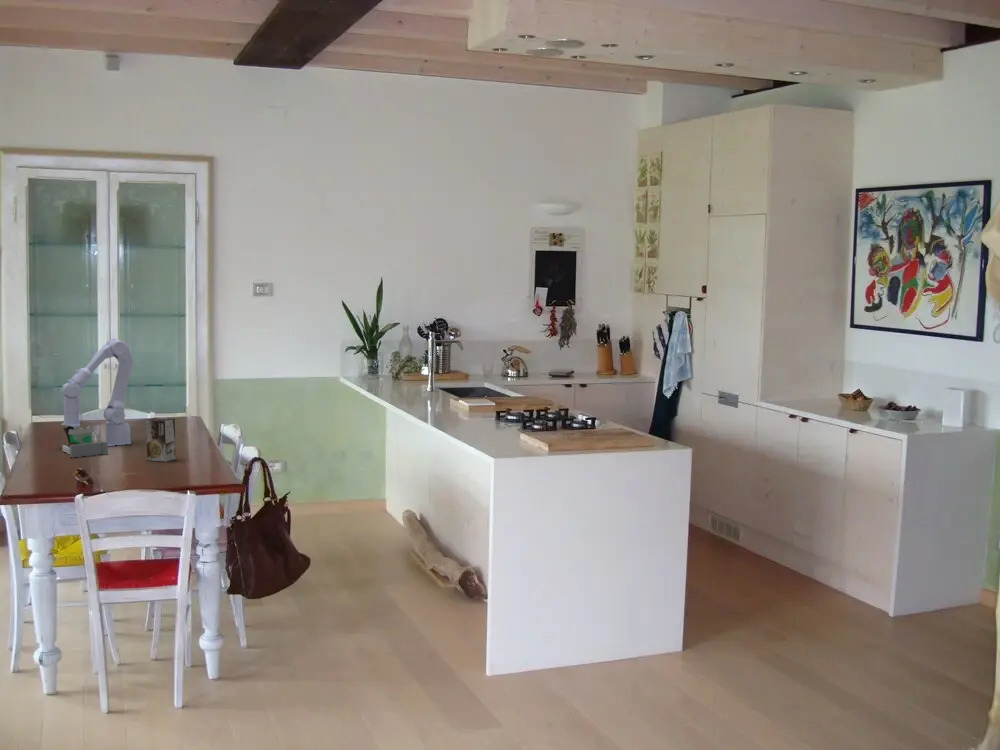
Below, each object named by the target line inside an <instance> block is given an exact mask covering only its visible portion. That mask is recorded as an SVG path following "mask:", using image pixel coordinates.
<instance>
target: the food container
mask: <svg viewBox="0 0 1000 750" xmlns="http://www.w3.org/2000/svg"><path fill="white" fill-rule="evenodd" d="M93 433H94V428H93V426H92V425H90V424H85V425H84V426H83V427H80V428H77V429H69V435H70V445H77V444H87V443H93V442H92V439H93ZM70 445H69V446H70Z"/></svg>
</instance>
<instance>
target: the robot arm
mask: <svg viewBox="0 0 1000 750" xmlns="http://www.w3.org/2000/svg"><path fill="white" fill-rule="evenodd" d="M113 357H114V358H115V359H116V360H117V362H118V367H117V372H116V376H115V380H114V384H113V390H112V395H111V398H110V400H109V401H108V403H107V406H106V407H105V409H104V411H103V417H104V419H105V420H106V421H105V423H104V424H105V441H106V442H108V447H116V446H115V445H117V446H124V445H125V446H127V445H132V441H131V438H132V437H131V426H130V424H129V422H124V421H125V417H126V414H125V409H126V407H125V397H126V393H127V388H128V384H129V381H130V380H129V379H130V375H131V372H132V366H133V361H134V360H133V357H132V353H131V351H130V347H129V345H128V344H127V343H126V342H125V341H123V340H119V339H116V338H111V339H109V340H108V341H107V342H106V343H105V344H103V345H102V347H101V348H100V349H99V350H98V351H97V352H96V354H95V355H94V356H93V358H92V359H91V360H90V361H89V363H88V364H87V365H86V366H85V367H81V368H79V369H76V370H75V374H74V375H73V376H72V377H71V378H70V379H68V380H67V383H64V384H63V385H62V387H61V394H62V396H63V419H64V420H63V423H61V426H65V427H64V428H63V431H64V432H65V435H66V437H67V438H66V439H67V443H68V445H69V446H70V435H69V429H77V428H81V424H80V423H81V422H80V408H79V407H80V403H79V395H80V394H81V390H82V389H83V388H84V387H85V386H86V385H87V384H88V382H89V381H90V380H91V379H92V378H93V372H94V371H95V370H96V369H97V368H99V366H100V365H101V364H102V363H103V362H104V361H105V360H106V359H108V358H113ZM126 444H127V445H126Z"/></svg>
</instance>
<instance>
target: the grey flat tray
mask: <svg viewBox="0 0 1000 750" xmlns="http://www.w3.org/2000/svg"><path fill="white" fill-rule="evenodd" d="M108 447H109V446H108V442H106V440H104V441H98V442H91V443H87V444H77V445H69V446H68V445H65V444H64V445H62V448H61V449H62V451H64V452H66V453H68V454H70V455H69V458H70V457H78V458H83V457H82V456H87V457H92V456H91V455H96V456H98V455H97V454H109V448H108ZM64 452H63V453H64ZM66 453H65V454H66ZM68 454H67V455H68Z"/></svg>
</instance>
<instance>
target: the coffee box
mask: <svg viewBox="0 0 1000 750" xmlns="http://www.w3.org/2000/svg"><path fill="white" fill-rule="evenodd" d="M175 420H176V419H175V418H172V417H171V418H170V417H152V418H149V419H146V420H145V428H146V429H145V431H146V432H145V433H146V452H147V453H146V454H147V457H146V458H147V459H146V460H147V461H154V462H171V461H175V460H176V429H175V428H176V421H175Z"/></svg>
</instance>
